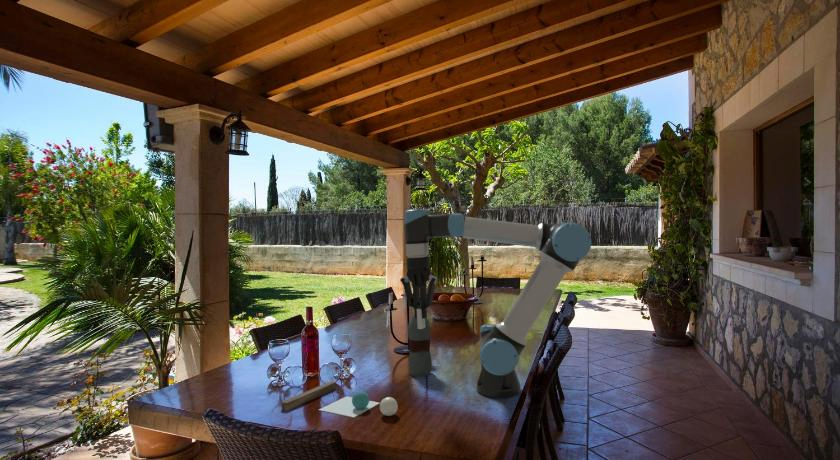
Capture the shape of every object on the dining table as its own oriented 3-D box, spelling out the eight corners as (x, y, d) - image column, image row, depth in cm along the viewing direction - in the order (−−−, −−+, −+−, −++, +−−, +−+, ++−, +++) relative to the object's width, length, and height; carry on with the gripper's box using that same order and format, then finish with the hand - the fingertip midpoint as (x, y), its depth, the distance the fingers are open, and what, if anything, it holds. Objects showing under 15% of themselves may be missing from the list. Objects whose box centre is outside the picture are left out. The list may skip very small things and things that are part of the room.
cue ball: (387, 391, 159) (383, 407, 160) (378, 398, 154) (374, 414, 155) (402, 398, 157) (398, 414, 158) (393, 405, 152) (390, 421, 153)
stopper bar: (335, 389, 183) (335, 382, 183) (287, 410, 162) (287, 403, 162) (330, 388, 184) (330, 381, 184) (281, 409, 163) (281, 401, 163)
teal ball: (368, 386, 164) (356, 392, 167) (357, 391, 159) (345, 397, 162) (375, 403, 163) (363, 408, 165) (364, 408, 158) (352, 414, 161)
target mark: (380, 403, 167) (380, 402, 167) (353, 417, 155) (353, 417, 155) (346, 396, 174) (346, 396, 174) (318, 410, 162) (318, 409, 162)
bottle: (429, 377, 194) (427, 299, 194) (406, 376, 196) (404, 299, 196) (433, 370, 203) (432, 295, 203) (411, 369, 205) (409, 295, 205)
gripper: (440, 255, 167) (444, 326, 167) (405, 256, 173) (409, 325, 173) (430, 256, 160) (434, 331, 160) (394, 257, 166) (398, 329, 166)
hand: (421, 328), depth 167 cm, fingers closed
